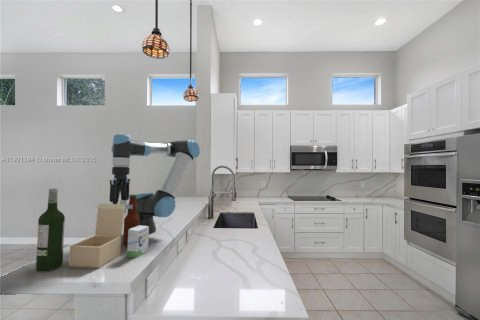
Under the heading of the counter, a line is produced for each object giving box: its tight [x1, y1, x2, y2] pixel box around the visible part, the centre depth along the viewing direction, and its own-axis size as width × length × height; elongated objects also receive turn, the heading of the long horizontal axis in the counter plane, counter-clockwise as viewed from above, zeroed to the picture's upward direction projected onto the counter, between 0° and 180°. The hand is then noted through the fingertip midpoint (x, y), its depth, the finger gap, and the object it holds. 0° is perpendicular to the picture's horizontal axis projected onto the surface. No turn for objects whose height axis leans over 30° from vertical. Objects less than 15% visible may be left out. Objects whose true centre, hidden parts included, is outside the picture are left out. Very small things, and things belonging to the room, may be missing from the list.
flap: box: [94, 203, 133, 238], centre depth 108 cm, size 14×12×8 cm
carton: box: [68, 235, 122, 269], centre depth 96 cm, size 14×12×8 cm
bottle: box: [122, 194, 140, 248], centre depth 116 cm, size 7×7×25 cm
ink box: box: [126, 225, 150, 259], centre depth 104 cm, size 9×5×12 cm, turn 168°
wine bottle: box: [35, 188, 66, 272], centre depth 89 cm, size 8×8×30 cm
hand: (119, 214), depth 112 cm, fingers open, 5 cm apart
